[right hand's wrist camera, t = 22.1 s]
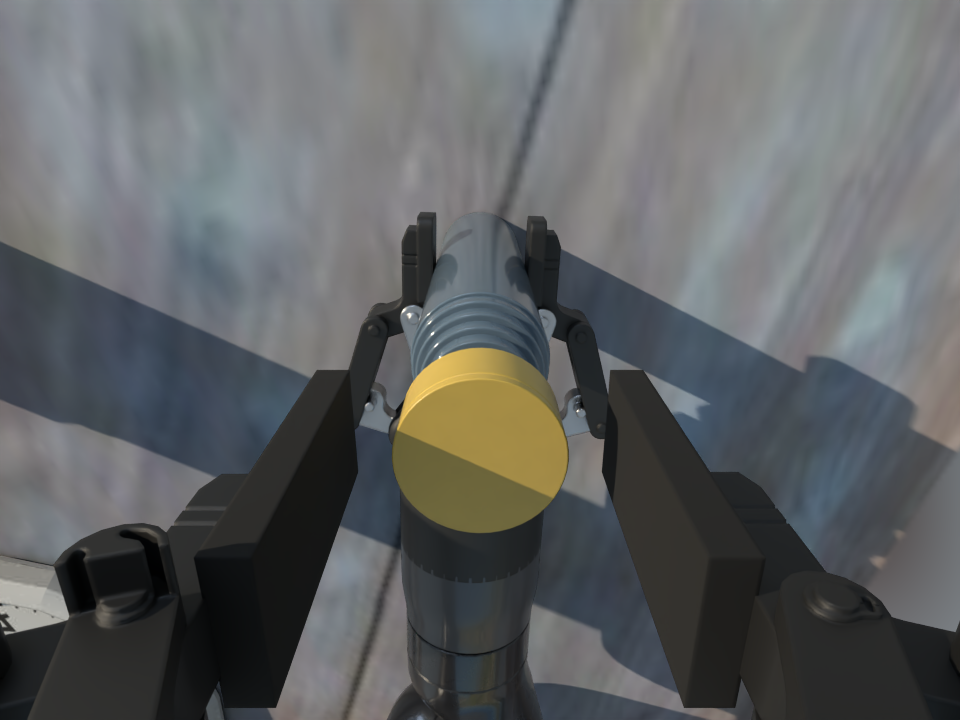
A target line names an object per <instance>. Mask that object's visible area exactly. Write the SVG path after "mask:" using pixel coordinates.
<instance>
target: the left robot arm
mask: <svg viewBox="0 0 960 720" xmlns="http://www.w3.org/2000/svg"><path fill="white" fill-rule="evenodd" d="M560 251H561V246H560V243H559V240H558V237H557V235H556V233H555V232H554V230H547V221H546V219H545V218H544V217H543V216H528V220H527V234H526V250H525V269H526V272H527V275H528V278H529V282H530V285H531V288H532V291H533V294H534V298H535V301H536V304H537V307H538V311H539V314H540V317H541V320H542V323H543V327H544V330H545V333H546V336H547V340H548V344H549V341H550V339H551V337H554V338H556V339H559V340H562V341H564V342H566V344H567V348H568V352H569V357H570V361H571V365H572V369H573V373H574V377H575V381H576V386H577V388H574V389H571V390H570V391H568V392H567V393H566V395H565V398H564V402H565V404H564V408H563V410H562V411H561V412H560V416H561V419H562V423H563V427H564V430H565V434H566V437H569V436H574V435H578V434H582V433H586V432H590V433H591V434H592V436H594V437H595V438H597V439H605V429H606V417H607V405H608V393H607V388H606V384H605V379H604V375H603V370H602V366H601V361H600V357H599V353H598V348H597V344H596V339H595V335H594V332H593V330H592V328H591V326H590V324H589V322H588V320H587V319H586V317H585V315H584V314H583V313H582V312H581V311H579V310H571V309H568V308H566V307H563V306H561V305H560V304H558V303H557V288H558V275H559V263H560ZM435 266H436V213H433V212H420V214H419V215H418V217H417V225H409V227H408V228H407V230H406V232H405V234H404V237H403V240H402V297H401V298H400V299H398V300H396V301H393V302H390V303H387V304H385V303H378V304H375V305H374V306H373V307H372V308H371V310H370V312H369V314H368V317H367V318H366V319H365V320H364V322H363V324H362V326H361V329H360V332H359V336H358V339H357V343H356V346H355V350H354V353H353V356H352V360H351V363H350V367H349V370H350V381H351V393H352V405H353V417H354V429H356V428H357V427H358V426H359V425H361V426H364V427H367V428H371V429H374V430H377V431H380V432H384V433H387V434H388V435H389V439H390V442H391V444H392V445H393V441H394V437H395V433H396V429H397V426H398V422H399V418H400V415H401V411H402V407H403V403H404V400H405V399H404V400H403V402H402V403H401V404H400V405H399V406H398V408H397V409H396V410H393V409H392V408H390V407H389V406H388V404H387V402H386V395H387V393H386V389H385V388H384V387H383V386H382V385H381V384H379V383H377V382H374V381H375V378H376V375H377V372H378V369H379V365H380V362H381V359H382V356H383V353H384V349H385V346H386V343H387V340H388V337H391V336H394V335H397V334H400V333H403V332H404V333H405V336H406V340H407V343H408V346H409V349H410V352H411V346H412V341H413V338H414V334H415V331H416V328H417V325H418V321H419V318H420V315H421V312H422V308H423V305H424V302H425V299H426V295H427V292H428V289H429V286H430V282H431V279H432V276H433V273H434V269H435ZM400 512H401V565H402V583H403V589H404V594H405V599H406V605H407V651H408V668H409V674H410V677H411V681H412V683H411V684H410V685H409V686H408V687H407V688H406V689H405V690H404V691H403V692H402V693H401V695H400V696H399V697H398V699H397V700H396V702H395V704H394V705H393V708H392V710H391V712H390V714H389V716H388V718H387V720H543V718H542V714H541V710H540V707H539V703H538V699H537V696H536V692H535V688H534V684H533V680H532V675H531V672H530V669H529V666H528V662H527V653H528V641H529V629H530V616H531V608H532V603H533V600H534V596H535V592H536V588H537V581H538V572H539V561H540V549H541V536H542V525H543V513H544V510H542V511H541V512H540V513H539V514H538V515H536V516H535V517H533V518H532V519H530V520H528V521H527V522H525V523H523V524H521V525H518V526H516V527H513V528H510V529H506V530H503V531H497V532H491V533H470V532H463V531H458V530H454V529H451V528H447V527H445V526H443V525H440V524H438V523H436V522H434V521H432V520H431V519H429V518H427V517H426V516H425V515H423V514H422V513H420V512H419V511H418V510H417V509H416V508H415V507H414V506H413V505H412V504H411V503H410V502H409V500H408V499H407V498H406V497H405V495H404V493H403V492H402V490H401V489H400Z"/></svg>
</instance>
